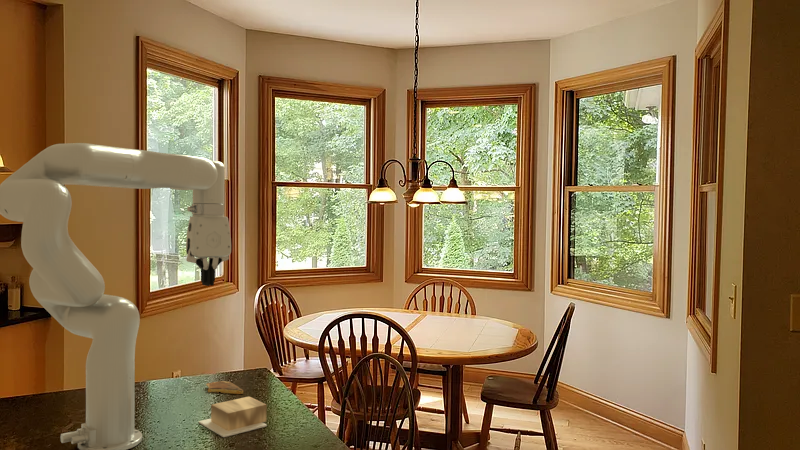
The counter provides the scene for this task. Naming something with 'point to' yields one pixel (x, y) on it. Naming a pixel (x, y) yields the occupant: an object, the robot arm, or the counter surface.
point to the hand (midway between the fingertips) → (207, 284)
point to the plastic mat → (226, 433)
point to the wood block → (238, 413)
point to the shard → (224, 387)
